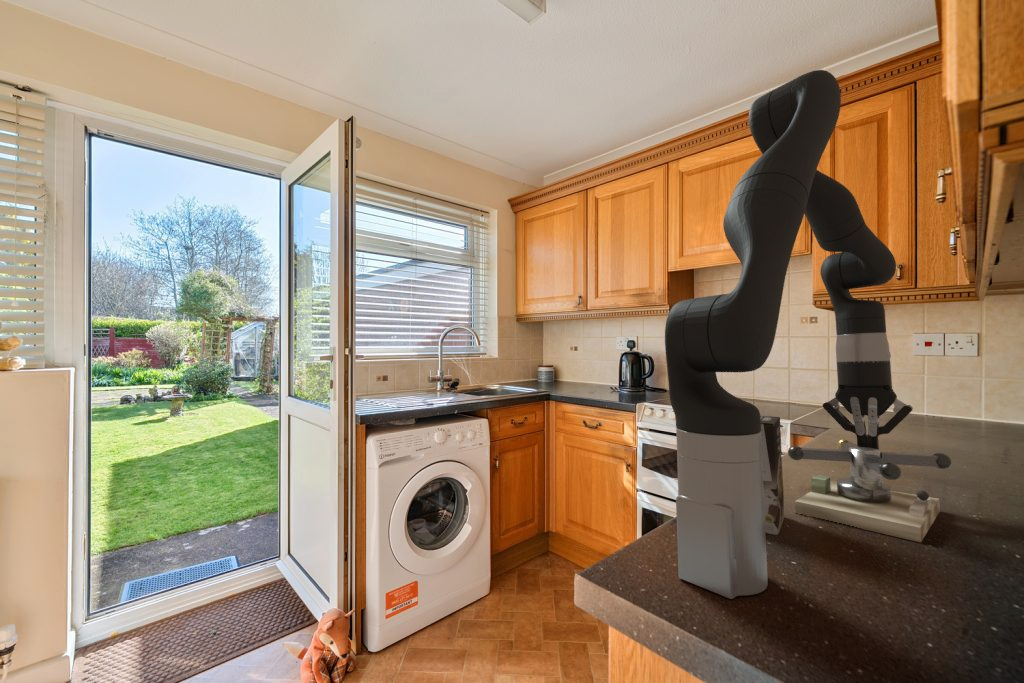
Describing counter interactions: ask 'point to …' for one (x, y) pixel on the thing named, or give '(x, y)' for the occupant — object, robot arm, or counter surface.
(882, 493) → the capstan
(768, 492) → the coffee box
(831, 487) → the stand
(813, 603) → the counter surface
